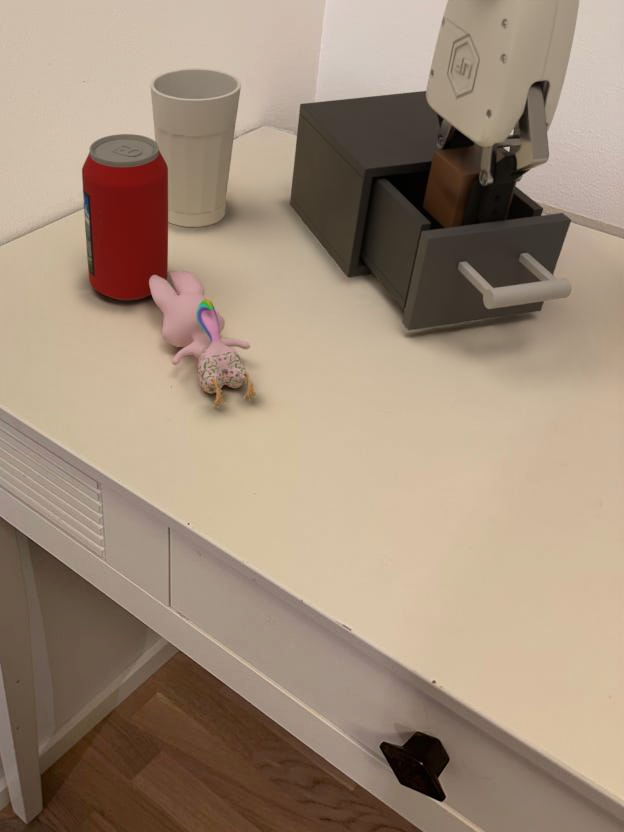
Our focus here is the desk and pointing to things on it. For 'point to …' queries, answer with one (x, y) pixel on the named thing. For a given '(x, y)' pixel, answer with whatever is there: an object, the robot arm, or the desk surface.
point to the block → (453, 183)
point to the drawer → (460, 256)
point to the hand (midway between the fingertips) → (464, 212)
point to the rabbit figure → (199, 333)
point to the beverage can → (125, 215)
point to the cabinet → (356, 163)
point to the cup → (195, 140)
